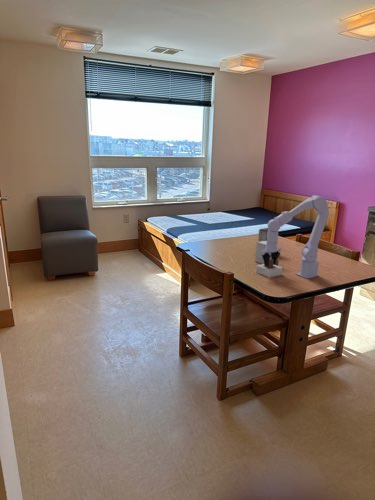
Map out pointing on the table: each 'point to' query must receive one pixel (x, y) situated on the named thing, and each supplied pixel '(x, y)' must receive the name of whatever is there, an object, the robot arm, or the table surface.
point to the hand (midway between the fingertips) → (269, 265)
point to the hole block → (269, 270)
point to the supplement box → (260, 247)
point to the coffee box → (263, 234)
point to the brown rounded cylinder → (270, 264)
